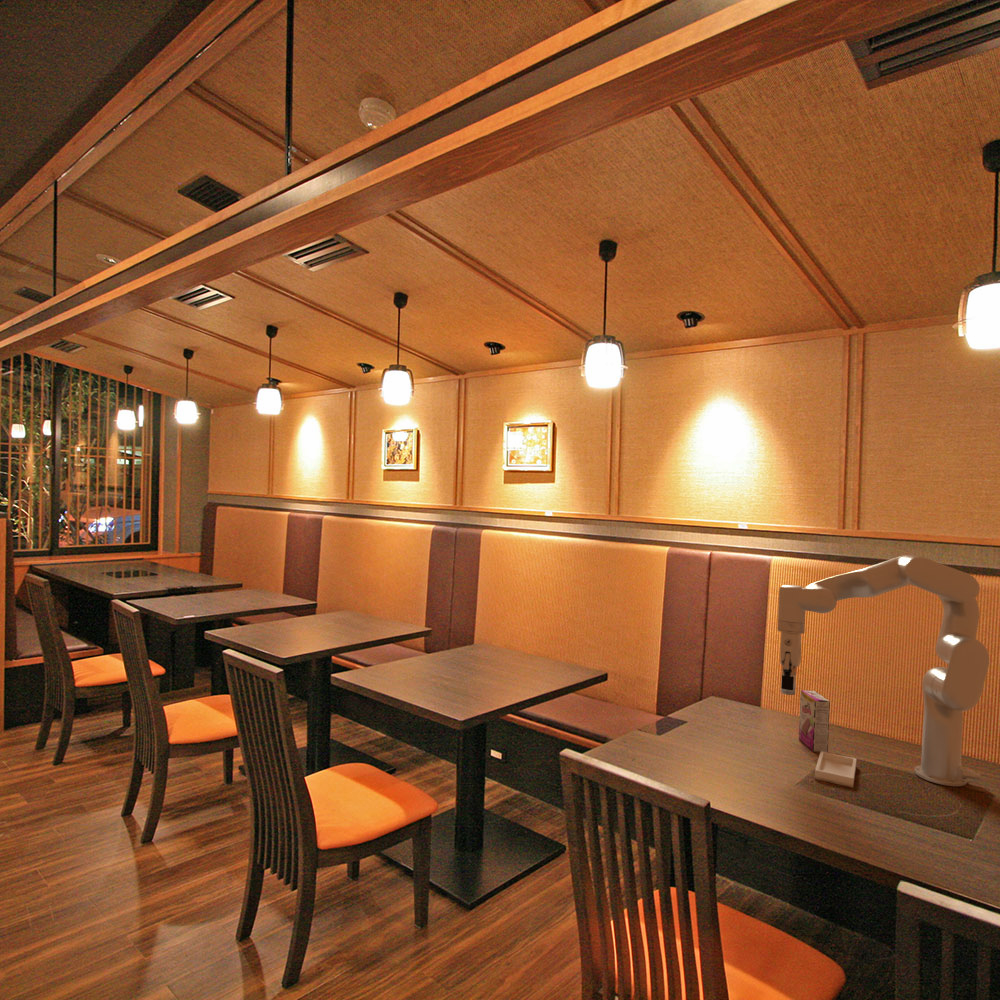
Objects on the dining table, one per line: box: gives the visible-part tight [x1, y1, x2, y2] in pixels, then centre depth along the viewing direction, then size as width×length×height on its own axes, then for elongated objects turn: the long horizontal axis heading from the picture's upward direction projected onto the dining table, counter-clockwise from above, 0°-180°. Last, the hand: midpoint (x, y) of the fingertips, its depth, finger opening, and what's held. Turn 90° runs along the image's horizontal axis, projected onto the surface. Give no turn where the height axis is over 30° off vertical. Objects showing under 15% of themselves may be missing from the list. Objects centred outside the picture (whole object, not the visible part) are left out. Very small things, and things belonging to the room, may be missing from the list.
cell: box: [780, 665, 798, 696], centre depth 203 cm, size 4×4×8 cm
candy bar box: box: [798, 689, 831, 753], centre depth 216 cm, size 11×5×16 cm, turn 179°
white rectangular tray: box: [814, 751, 857, 788], centre depth 195 cm, size 10×18×2 cm, turn 150°
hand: (788, 687), depth 203 cm, fingers closed on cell, 4 cm apart
